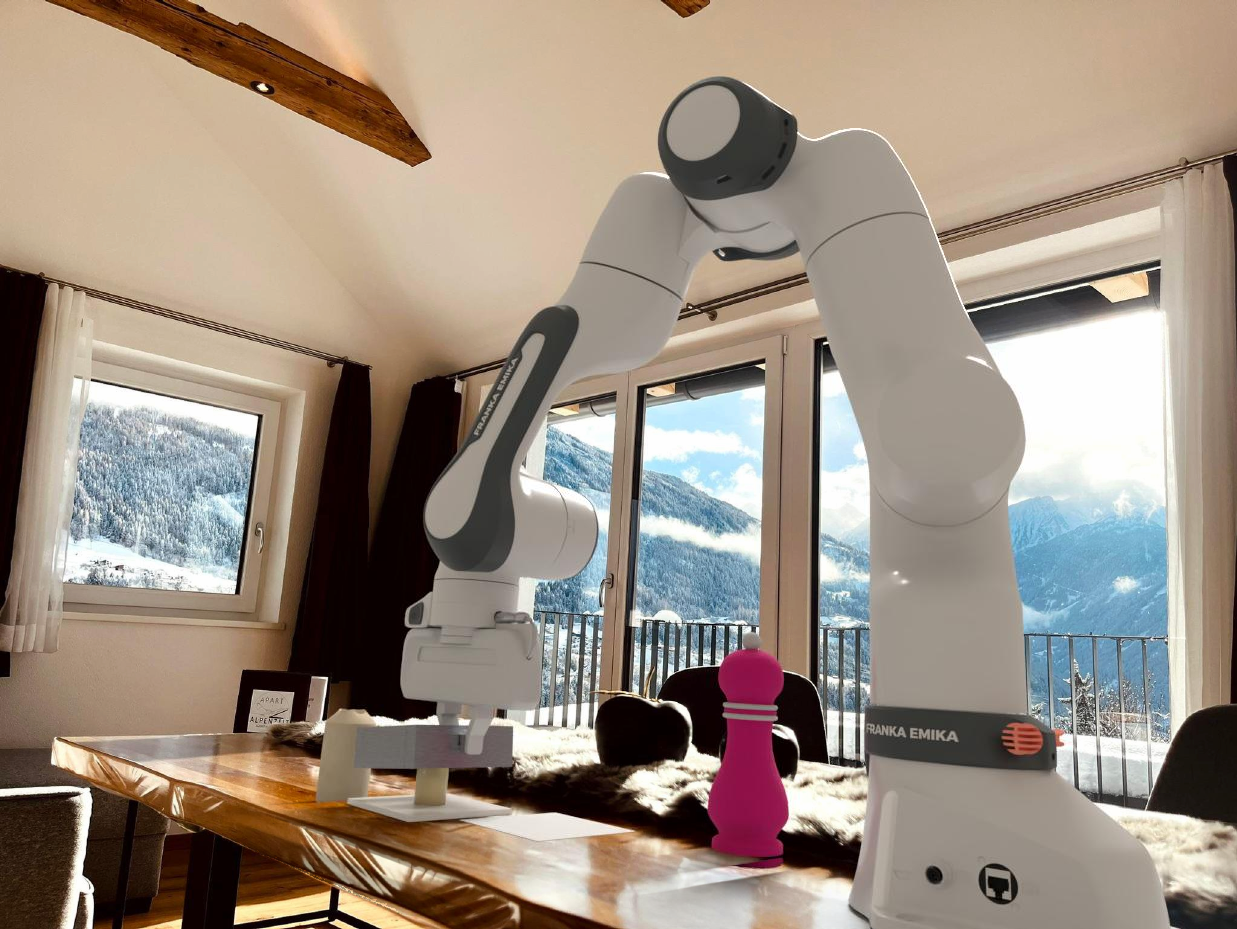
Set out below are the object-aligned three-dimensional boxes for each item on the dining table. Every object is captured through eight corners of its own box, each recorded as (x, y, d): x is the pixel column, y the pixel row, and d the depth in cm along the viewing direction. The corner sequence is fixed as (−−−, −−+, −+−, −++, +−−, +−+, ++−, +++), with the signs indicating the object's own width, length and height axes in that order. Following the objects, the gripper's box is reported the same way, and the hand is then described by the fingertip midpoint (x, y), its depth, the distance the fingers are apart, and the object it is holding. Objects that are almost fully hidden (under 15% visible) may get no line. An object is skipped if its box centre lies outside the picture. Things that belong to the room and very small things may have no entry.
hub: (510, 824, 91) (515, 762, 92) (407, 832, 83) (414, 765, 84) (445, 807, 99) (451, 750, 101) (346, 813, 91) (353, 752, 93)
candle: (347, 808, 95) (359, 710, 97) (304, 802, 97) (317, 707, 99) (376, 802, 100) (387, 710, 102) (335, 797, 102) (346, 707, 104)
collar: (512, 766, 92) (513, 726, 93) (413, 768, 84) (416, 724, 85) (448, 766, 100) (450, 728, 101) (353, 768, 92) (356, 727, 93)
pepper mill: (693, 861, 77) (701, 628, 82) (723, 849, 84) (729, 633, 88) (773, 874, 74) (777, 630, 79) (798, 861, 80) (800, 635, 85)
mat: (635, 842, 85) (636, 831, 85) (536, 853, 77) (537, 841, 77) (554, 822, 93) (555, 812, 93) (458, 830, 85) (459, 819, 85)
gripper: (562, 614, 87) (551, 763, 84) (446, 615, 101) (432, 742, 98) (510, 608, 83) (496, 764, 79) (397, 610, 97) (381, 742, 94)
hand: (460, 752), depth 89 cm, fingers closed on collar, 2 cm apart
